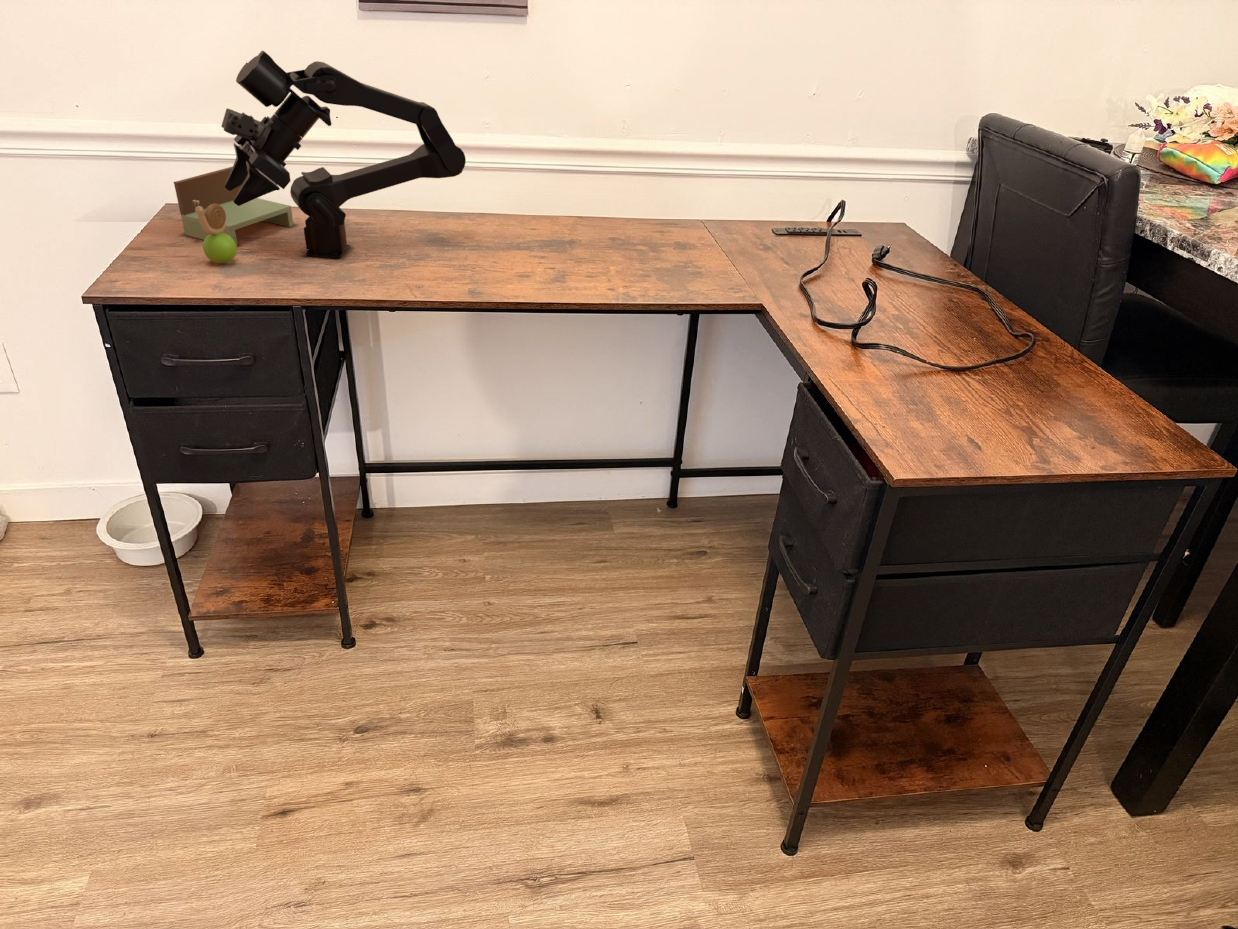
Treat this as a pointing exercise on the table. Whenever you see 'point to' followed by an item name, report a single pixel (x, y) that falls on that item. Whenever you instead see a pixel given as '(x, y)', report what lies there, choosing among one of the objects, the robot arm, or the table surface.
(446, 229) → the table surface
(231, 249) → the snail figurine
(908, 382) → the table surface
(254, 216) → the bench with backrest
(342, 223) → the robot arm
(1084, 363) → the table surface
